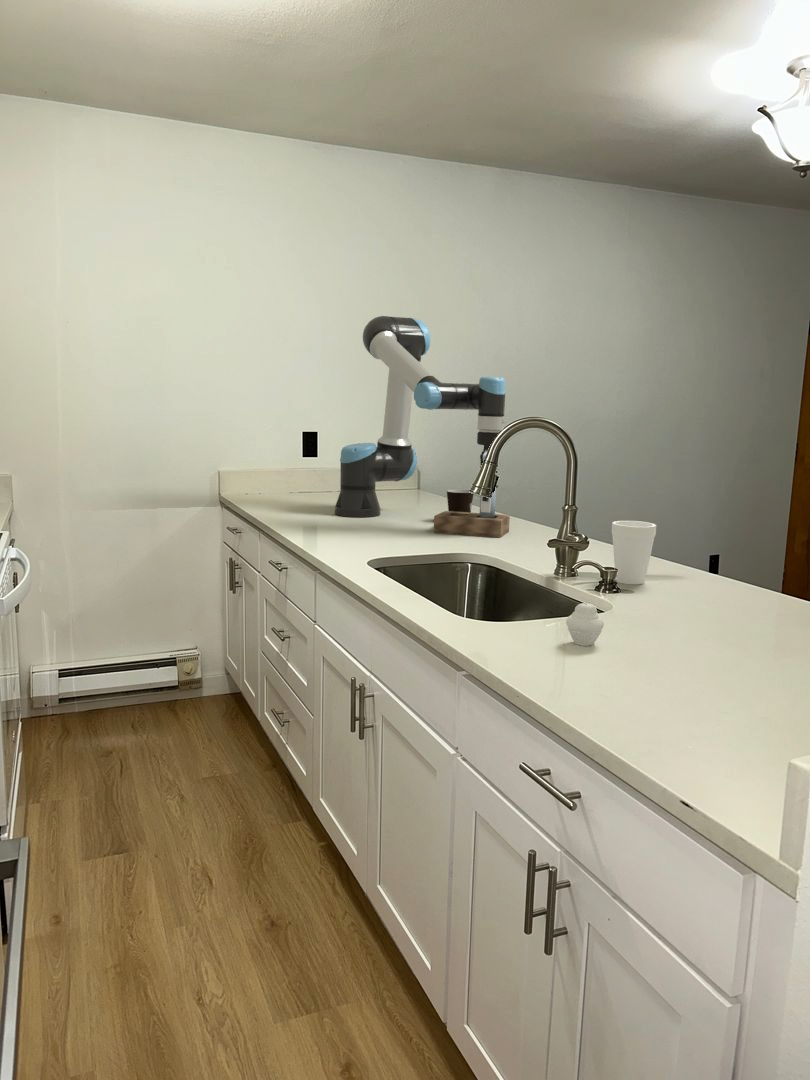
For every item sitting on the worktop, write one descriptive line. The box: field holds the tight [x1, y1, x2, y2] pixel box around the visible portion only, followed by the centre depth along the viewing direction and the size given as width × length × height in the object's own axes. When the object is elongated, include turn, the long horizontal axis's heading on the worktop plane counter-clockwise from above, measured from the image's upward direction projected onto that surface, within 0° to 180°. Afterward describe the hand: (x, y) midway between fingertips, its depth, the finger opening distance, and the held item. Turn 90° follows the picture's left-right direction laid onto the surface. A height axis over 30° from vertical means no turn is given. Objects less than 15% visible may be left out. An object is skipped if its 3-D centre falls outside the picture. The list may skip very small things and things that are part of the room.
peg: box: [479, 487, 497, 519], centre depth 249 cm, size 4×4×15 cm
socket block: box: [433, 510, 511, 539], centre depth 251 cm, size 20×12×5 cm, turn 72°
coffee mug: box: [446, 489, 474, 513], centre depth 271 cm, size 12×9×10 cm
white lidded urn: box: [565, 602, 605, 647], centre depth 141 cm, size 6×6×7 cm
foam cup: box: [611, 520, 657, 585], centre depth 189 cm, size 10×9×13 cm
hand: (487, 510), depth 249 cm, fingers closed on peg, 4 cm apart
